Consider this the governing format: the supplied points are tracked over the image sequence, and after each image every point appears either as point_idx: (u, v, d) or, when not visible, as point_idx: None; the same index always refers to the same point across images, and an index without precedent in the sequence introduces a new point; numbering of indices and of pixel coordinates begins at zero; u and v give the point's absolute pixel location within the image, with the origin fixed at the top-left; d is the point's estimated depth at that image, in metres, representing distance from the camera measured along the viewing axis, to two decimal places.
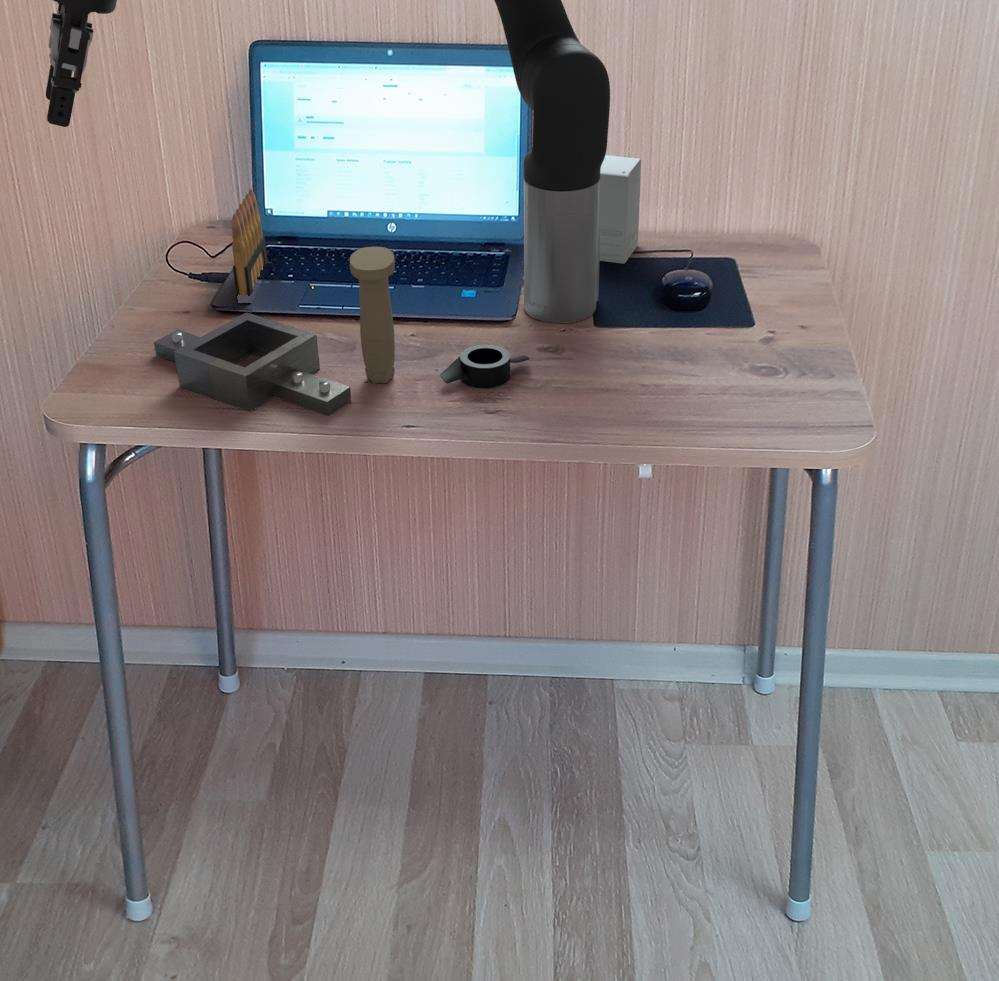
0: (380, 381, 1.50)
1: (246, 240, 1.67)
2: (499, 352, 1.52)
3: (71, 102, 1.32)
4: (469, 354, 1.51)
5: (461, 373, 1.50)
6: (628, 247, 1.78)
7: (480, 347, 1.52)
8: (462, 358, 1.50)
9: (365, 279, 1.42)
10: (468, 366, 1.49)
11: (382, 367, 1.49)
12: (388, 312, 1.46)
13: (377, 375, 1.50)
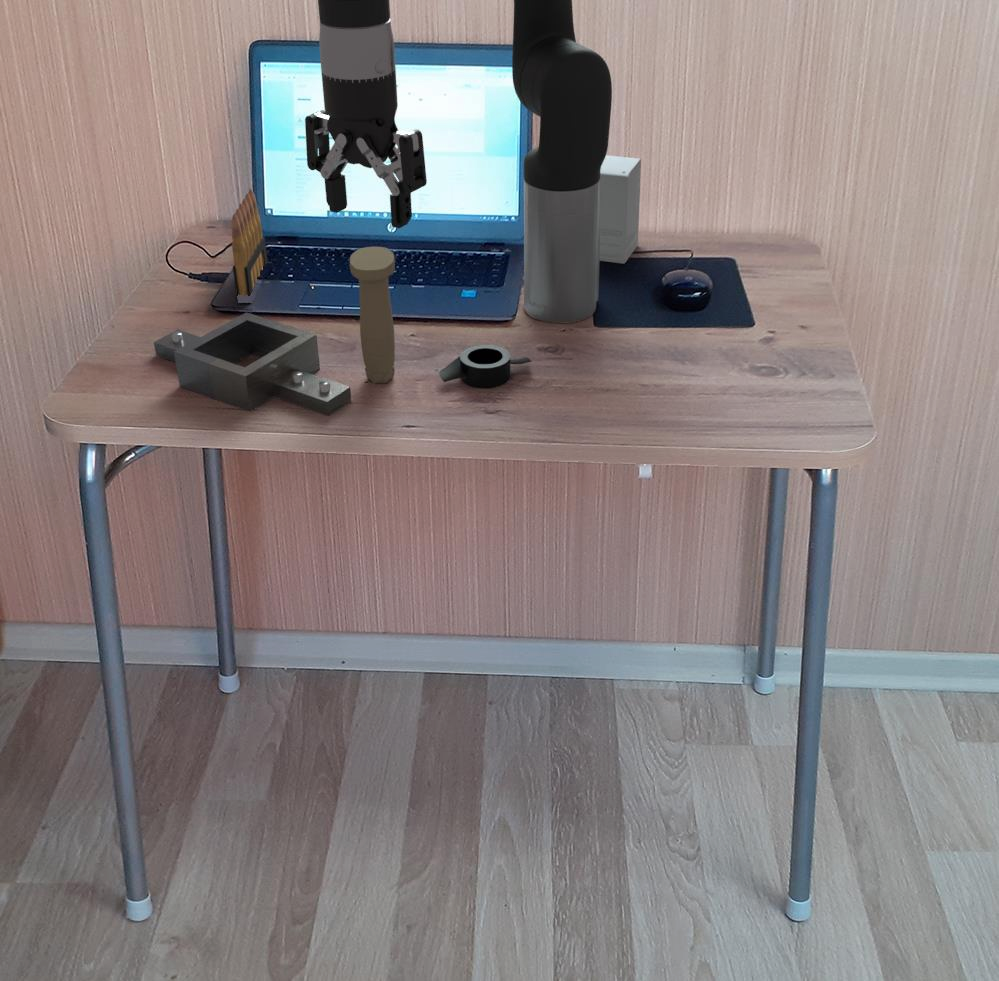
0: (380, 381, 1.50)
1: (246, 240, 1.67)
2: (500, 353, 1.51)
3: None
4: (470, 353, 1.52)
5: (460, 372, 1.50)
6: (628, 247, 1.78)
7: (482, 347, 1.52)
8: (462, 357, 1.50)
9: (365, 279, 1.42)
10: (466, 365, 1.49)
11: (382, 367, 1.49)
12: (388, 312, 1.46)
13: (377, 375, 1.50)
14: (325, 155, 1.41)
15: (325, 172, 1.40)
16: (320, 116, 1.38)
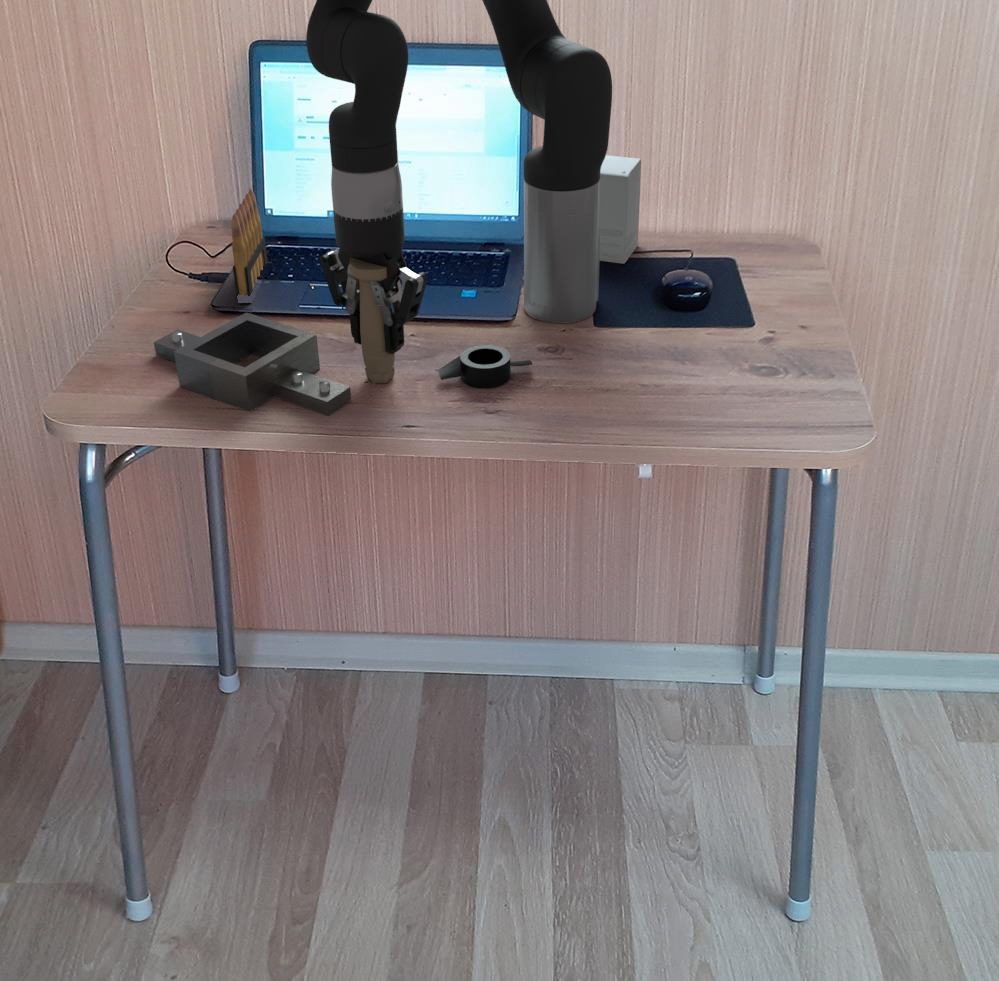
0: (380, 381, 1.50)
1: (246, 240, 1.67)
2: (501, 354, 1.51)
3: None
4: (471, 353, 1.52)
5: (459, 370, 1.50)
6: (628, 247, 1.78)
7: (485, 347, 1.52)
8: (462, 356, 1.51)
9: (365, 279, 1.42)
10: (464, 364, 1.49)
11: (382, 367, 1.49)
12: None
13: (377, 375, 1.50)
14: None
15: (350, 308, 1.47)
16: (332, 253, 1.46)
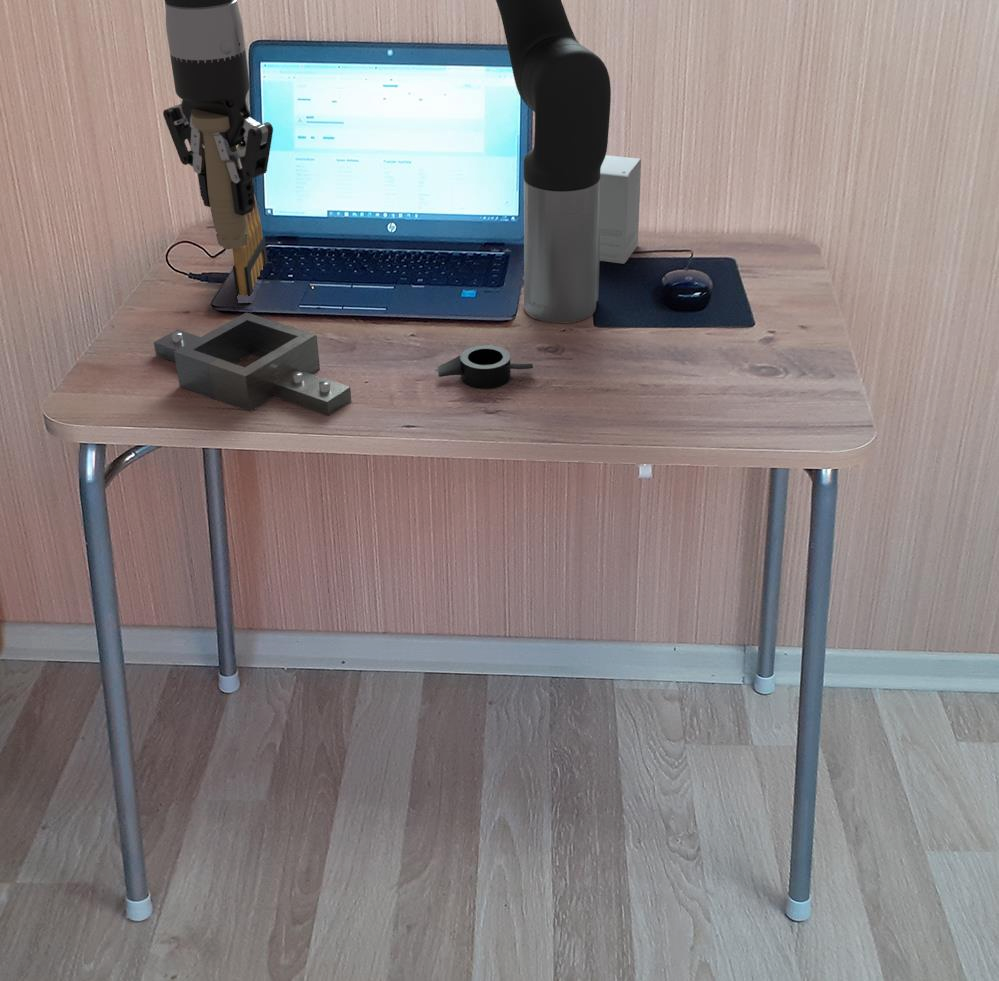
0: (232, 246, 1.42)
1: None
2: (502, 356, 1.51)
3: None
4: (473, 352, 1.52)
5: (458, 369, 1.51)
6: (628, 247, 1.78)
7: (488, 347, 1.52)
8: (462, 355, 1.51)
9: (206, 129, 1.33)
10: (462, 363, 1.49)
11: (232, 231, 1.41)
12: None
13: (228, 240, 1.41)
14: None
15: (197, 166, 1.39)
16: (176, 107, 1.38)
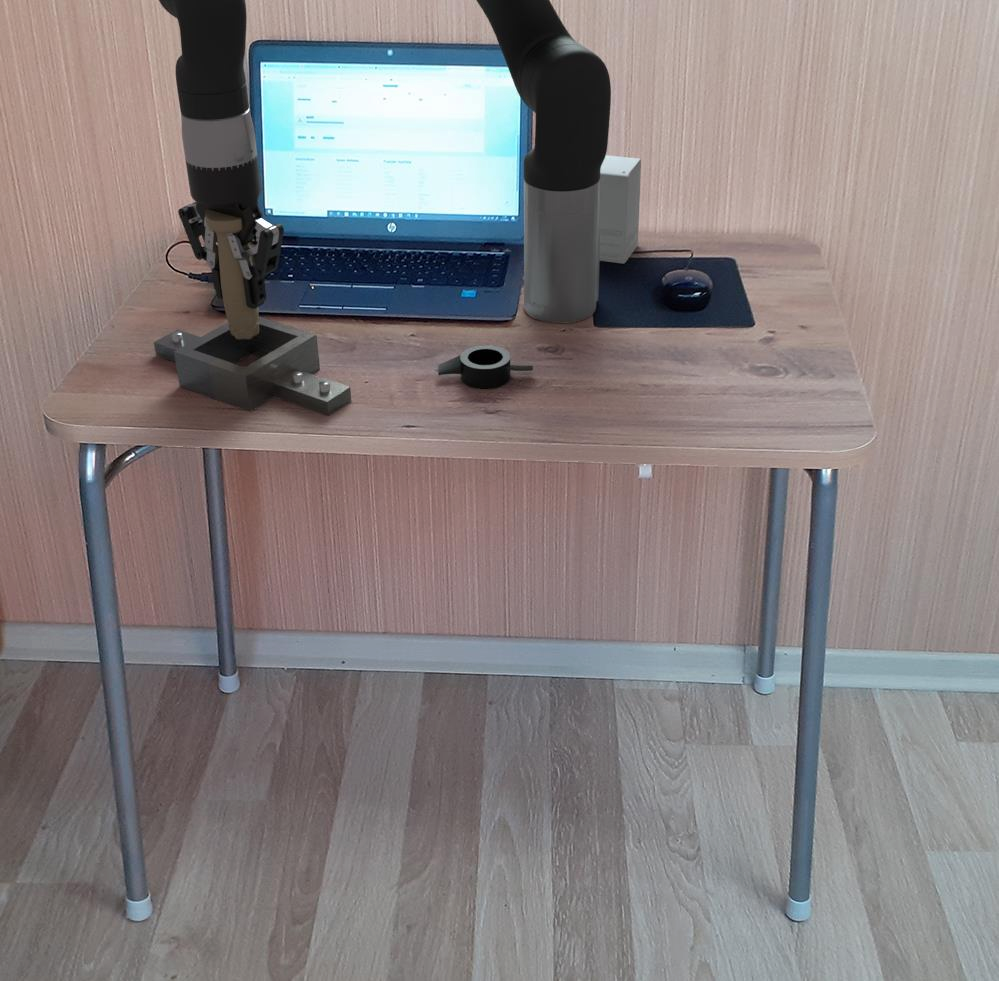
0: (244, 337, 1.48)
1: None
2: (502, 356, 1.51)
3: None
4: (475, 352, 1.52)
5: (457, 368, 1.51)
6: (628, 247, 1.78)
7: (489, 348, 1.52)
8: (463, 354, 1.51)
9: (219, 231, 1.39)
10: (462, 362, 1.50)
11: (244, 323, 1.47)
12: None
13: (240, 331, 1.47)
14: None
15: (211, 262, 1.45)
16: (191, 206, 1.44)
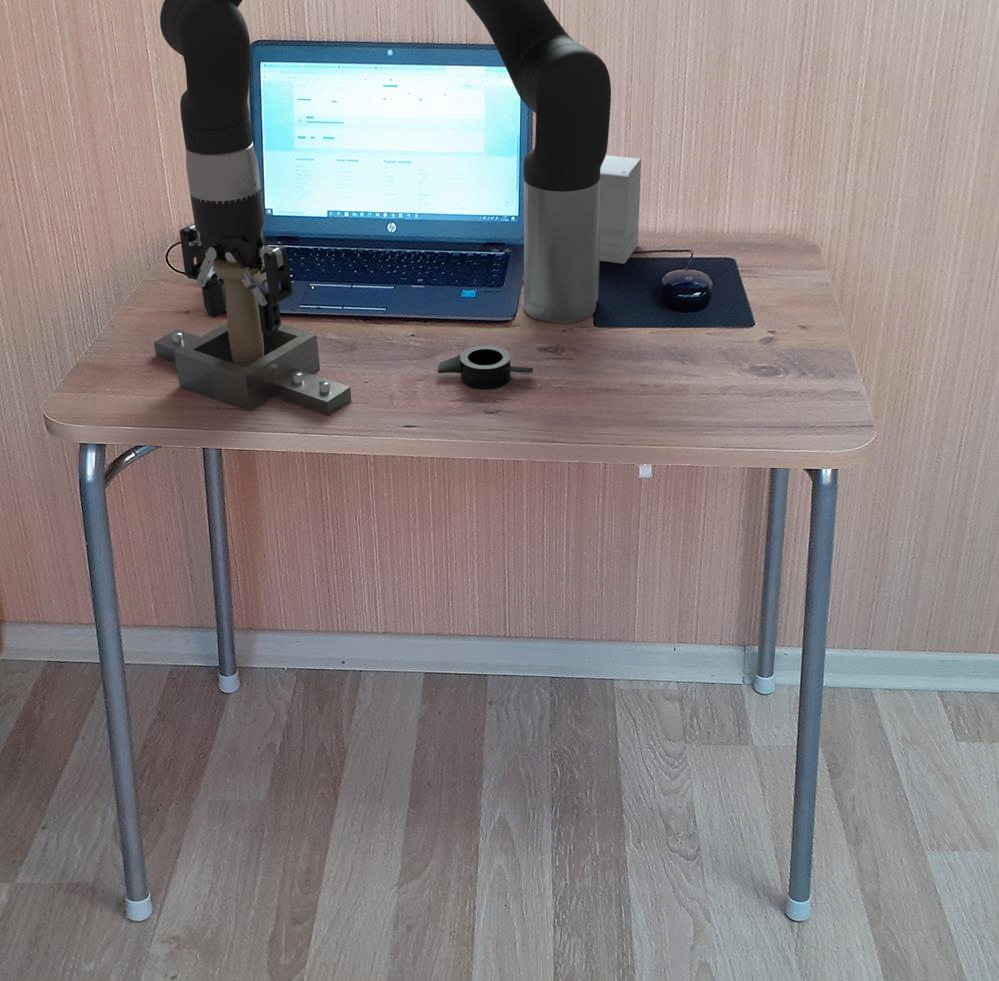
0: None
1: None
2: (502, 357, 1.50)
3: None
4: (476, 352, 1.52)
5: (457, 367, 1.51)
6: (628, 247, 1.78)
7: (491, 348, 1.52)
8: (464, 353, 1.51)
9: (227, 278, 1.42)
10: (461, 361, 1.50)
11: None
12: (254, 312, 1.47)
13: None
14: None
15: (201, 281, 1.47)
16: (194, 229, 1.45)
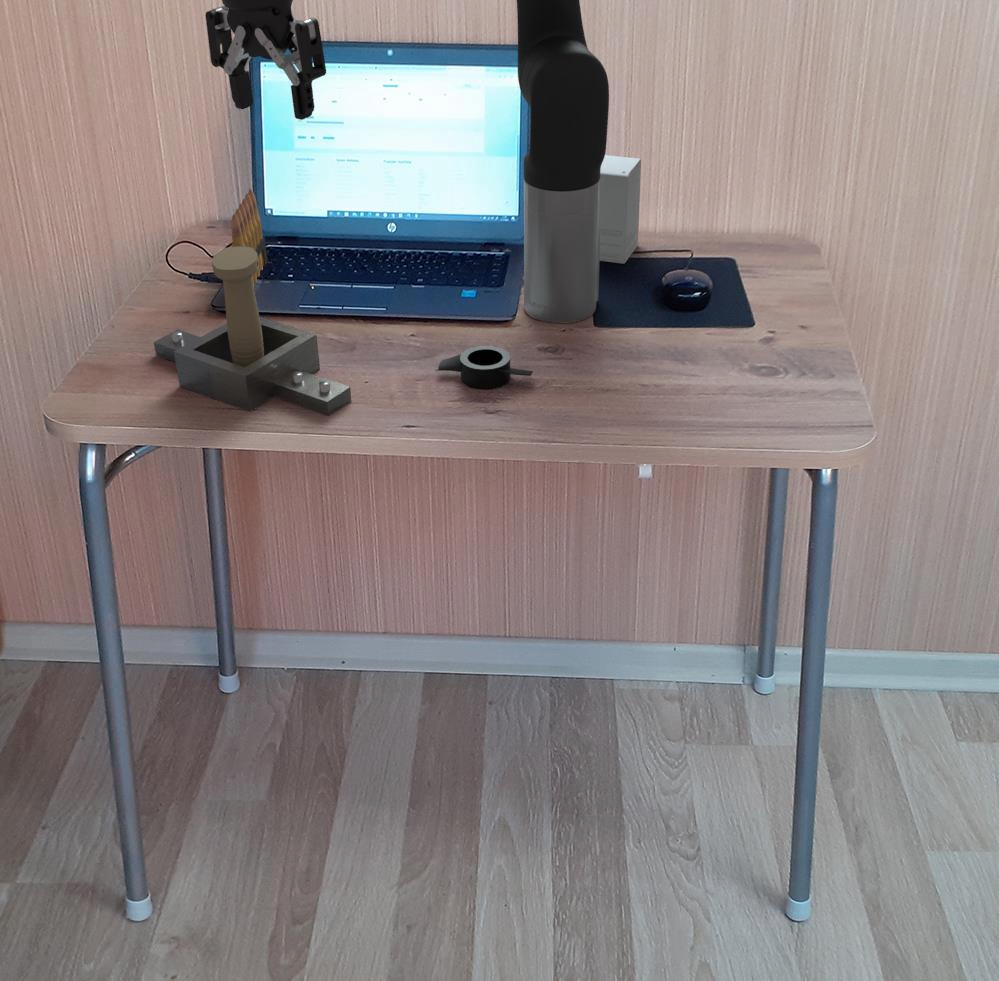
0: None
1: (246, 240, 1.67)
2: (502, 359, 1.50)
3: None
4: (478, 351, 1.52)
5: (457, 365, 1.51)
6: (628, 247, 1.78)
7: (493, 349, 1.52)
8: (465, 352, 1.51)
9: (226, 279, 1.42)
10: (460, 360, 1.50)
11: None
12: (254, 312, 1.47)
13: None
14: None
15: (228, 68, 1.42)
16: (220, 11, 1.40)
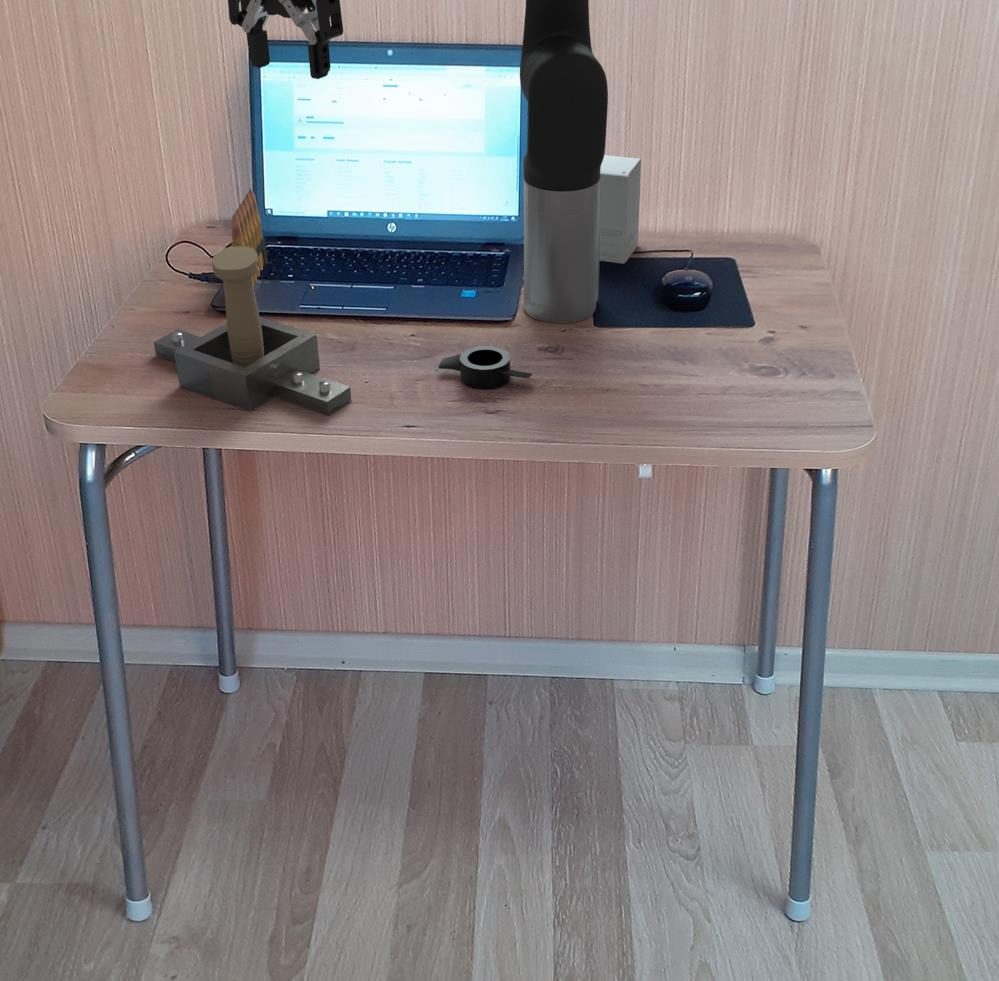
0: None
1: (246, 240, 1.67)
2: (502, 360, 1.50)
3: None
4: (479, 351, 1.52)
5: (458, 364, 1.52)
6: (628, 247, 1.78)
7: (495, 349, 1.52)
8: (466, 351, 1.51)
9: (226, 279, 1.42)
10: (460, 359, 1.50)
11: None
12: (254, 312, 1.47)
13: None
14: None
15: (246, 26, 1.43)
16: None
